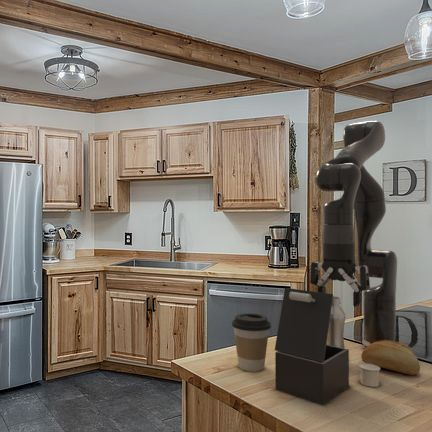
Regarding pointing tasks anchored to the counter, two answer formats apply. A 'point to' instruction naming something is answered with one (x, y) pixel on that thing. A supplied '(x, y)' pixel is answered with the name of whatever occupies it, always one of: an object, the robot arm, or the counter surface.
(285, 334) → the charcoal box lid
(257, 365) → the coffee cup
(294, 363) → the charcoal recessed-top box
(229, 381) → the counter surface
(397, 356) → the bread roll
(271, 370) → the counter surface
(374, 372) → the coffee pod
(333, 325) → the plastic bottle
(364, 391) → the counter surface
